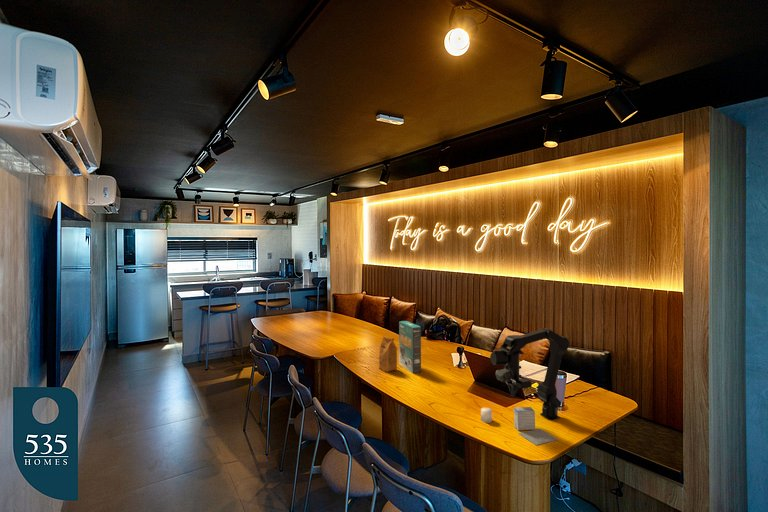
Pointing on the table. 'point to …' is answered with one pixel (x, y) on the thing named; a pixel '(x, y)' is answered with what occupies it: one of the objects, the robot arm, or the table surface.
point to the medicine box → (524, 418)
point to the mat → (538, 436)
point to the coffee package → (387, 355)
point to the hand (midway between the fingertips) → (512, 396)
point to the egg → (486, 415)
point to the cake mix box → (410, 346)
